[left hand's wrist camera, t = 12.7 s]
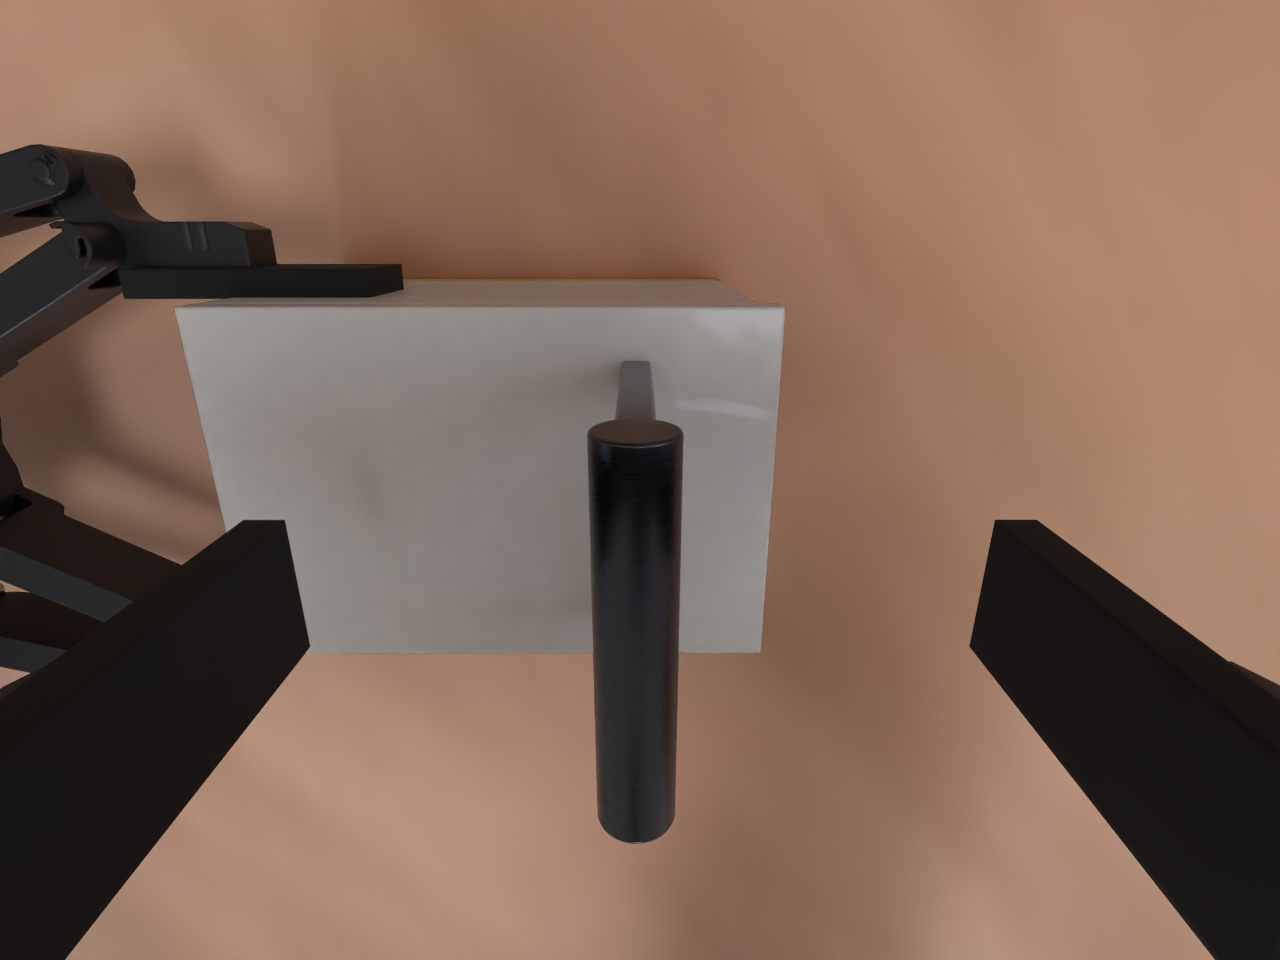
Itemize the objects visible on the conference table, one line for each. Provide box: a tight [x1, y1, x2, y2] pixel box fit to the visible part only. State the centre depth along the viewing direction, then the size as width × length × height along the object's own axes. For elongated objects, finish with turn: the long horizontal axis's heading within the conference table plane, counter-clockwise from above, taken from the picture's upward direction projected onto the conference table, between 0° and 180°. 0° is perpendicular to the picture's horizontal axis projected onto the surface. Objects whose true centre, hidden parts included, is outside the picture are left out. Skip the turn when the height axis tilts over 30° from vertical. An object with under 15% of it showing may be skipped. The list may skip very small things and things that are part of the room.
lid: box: [174, 303, 785, 844], centre depth 14 cm, size 14×10×8 cm
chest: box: [199, 278, 754, 304], centre depth 22 cm, size 14×10×9 cm
